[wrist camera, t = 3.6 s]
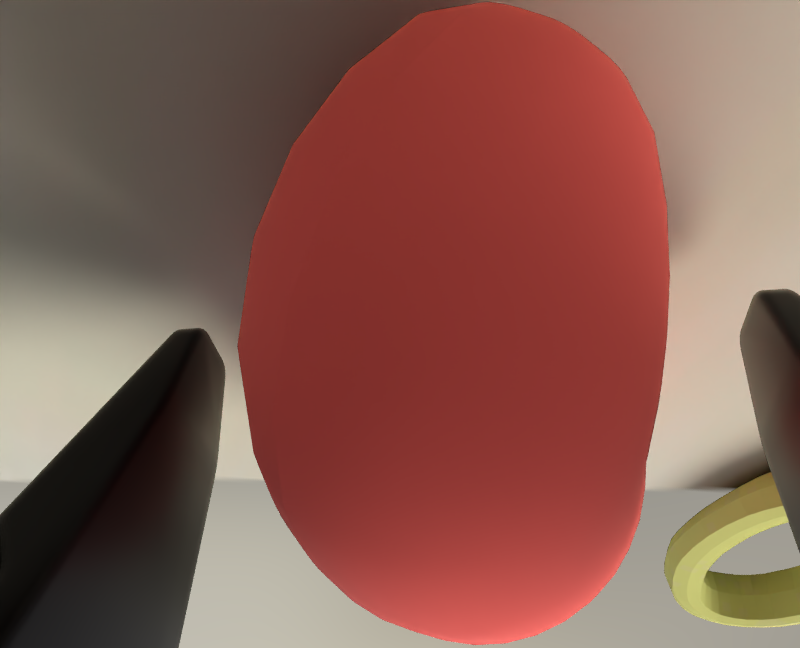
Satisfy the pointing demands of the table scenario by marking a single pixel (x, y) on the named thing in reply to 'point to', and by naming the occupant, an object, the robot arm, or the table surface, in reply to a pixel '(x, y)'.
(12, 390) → the table surface
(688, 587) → the key
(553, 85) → the red bean-shaped piece
